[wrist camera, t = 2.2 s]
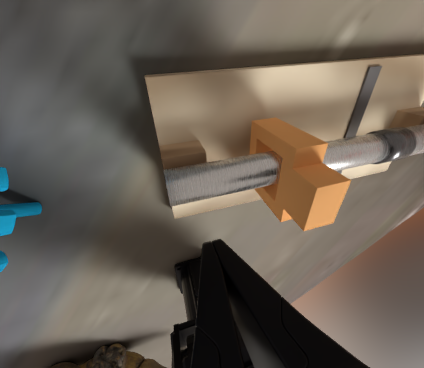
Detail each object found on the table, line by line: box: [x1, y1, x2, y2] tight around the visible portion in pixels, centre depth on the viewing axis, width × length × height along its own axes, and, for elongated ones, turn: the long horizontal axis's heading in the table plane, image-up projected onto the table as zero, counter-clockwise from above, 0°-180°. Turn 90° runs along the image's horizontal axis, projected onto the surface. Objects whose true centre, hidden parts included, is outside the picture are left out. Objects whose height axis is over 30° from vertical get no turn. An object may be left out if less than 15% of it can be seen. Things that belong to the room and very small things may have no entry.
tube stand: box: [145, 54, 424, 219], centre depth 17 cm, size 12×26×6 cm, turn 92°
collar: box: [249, 117, 351, 231], centre depth 13 cm, size 5×2×7 cm, turn 2°
